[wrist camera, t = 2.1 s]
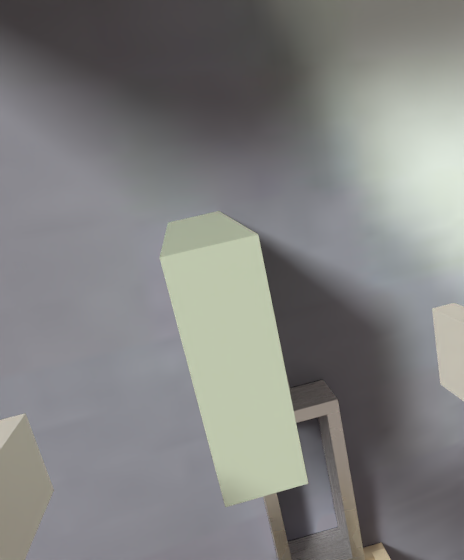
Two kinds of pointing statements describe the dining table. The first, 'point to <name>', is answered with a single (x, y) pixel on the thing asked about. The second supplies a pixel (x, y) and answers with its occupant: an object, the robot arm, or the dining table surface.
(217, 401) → the pale green rectangular block
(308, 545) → the grey rectangular frame
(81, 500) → the dining table surface
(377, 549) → the open wooden box
